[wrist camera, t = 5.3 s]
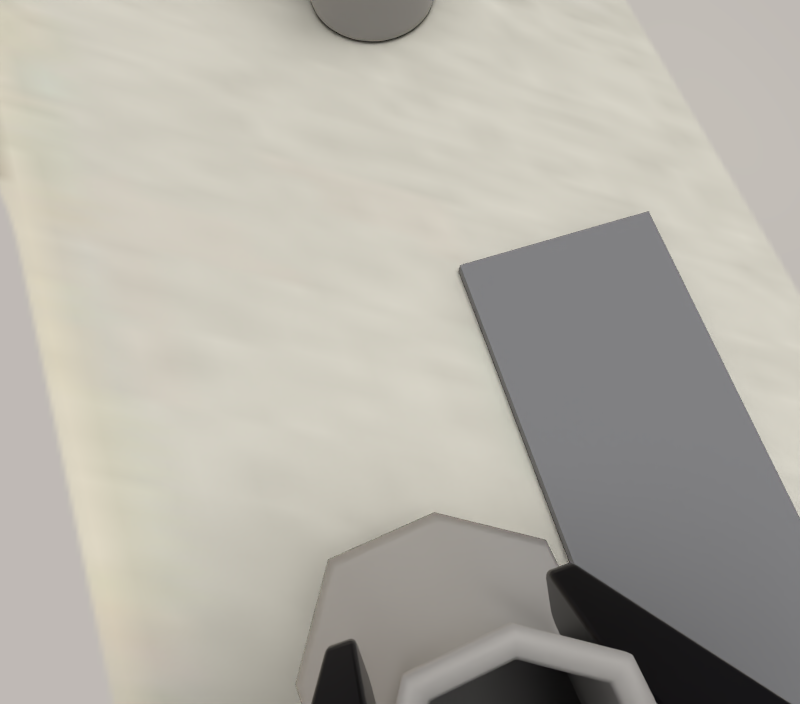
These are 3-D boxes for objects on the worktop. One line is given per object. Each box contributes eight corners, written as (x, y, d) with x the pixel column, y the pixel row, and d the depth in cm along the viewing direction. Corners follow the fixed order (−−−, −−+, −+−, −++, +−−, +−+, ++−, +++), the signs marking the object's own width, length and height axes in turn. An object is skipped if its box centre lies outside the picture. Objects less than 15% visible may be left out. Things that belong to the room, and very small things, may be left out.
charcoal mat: (911, 766, 21) (924, 770, 20) (682, 859, 20) (690, 866, 19) (643, 217, 27) (648, 211, 26) (458, 270, 26) (460, 265, 25)
